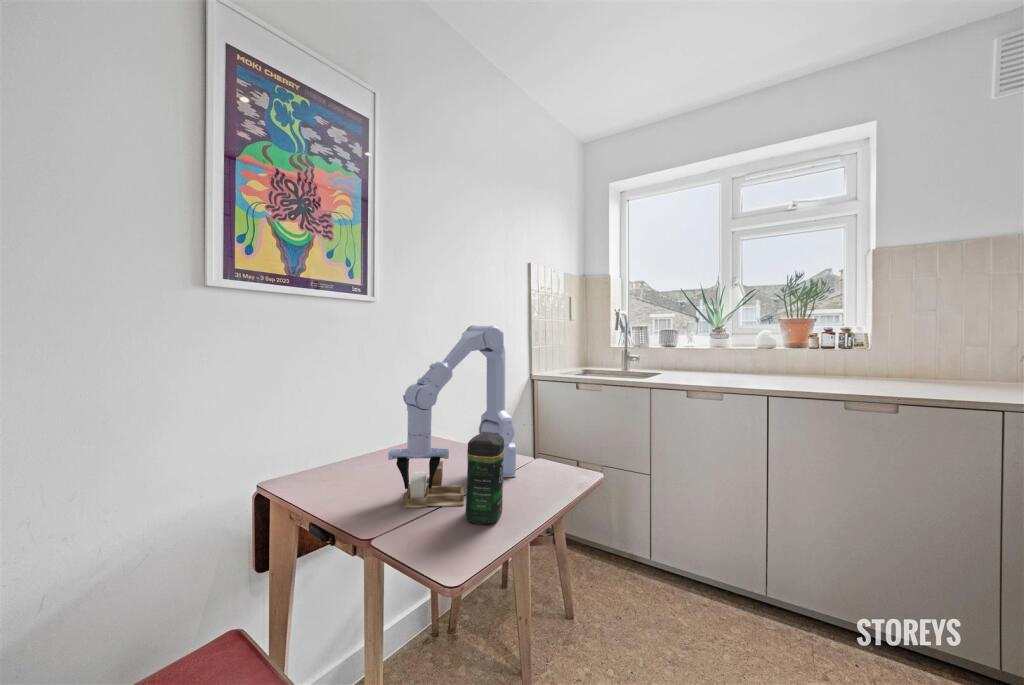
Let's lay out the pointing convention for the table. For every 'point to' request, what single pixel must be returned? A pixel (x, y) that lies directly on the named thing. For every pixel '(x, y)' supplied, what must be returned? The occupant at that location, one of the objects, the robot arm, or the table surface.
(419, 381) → the robot arm
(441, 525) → the table surface
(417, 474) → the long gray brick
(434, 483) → the tall wooden block
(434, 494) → the jig
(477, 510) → the coffee jar
